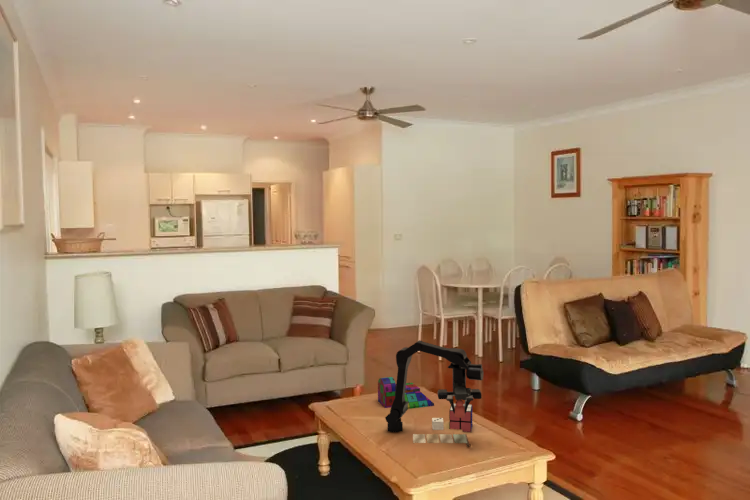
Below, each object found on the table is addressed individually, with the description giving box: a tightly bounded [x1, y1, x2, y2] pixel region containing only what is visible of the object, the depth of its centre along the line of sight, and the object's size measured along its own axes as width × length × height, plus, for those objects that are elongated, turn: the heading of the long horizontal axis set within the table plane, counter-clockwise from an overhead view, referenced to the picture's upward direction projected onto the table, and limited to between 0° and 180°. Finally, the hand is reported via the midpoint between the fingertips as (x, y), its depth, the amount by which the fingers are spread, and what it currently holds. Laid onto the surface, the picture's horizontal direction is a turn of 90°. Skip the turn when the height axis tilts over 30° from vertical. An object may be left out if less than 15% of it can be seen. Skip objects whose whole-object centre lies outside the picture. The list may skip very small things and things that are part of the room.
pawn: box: [455, 400, 465, 418], centre depth 276 cm, size 4×4×7 cm
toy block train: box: [377, 376, 435, 410], centre depth 329 cm, size 25×17×14 cm
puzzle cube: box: [448, 403, 473, 433], centre depth 293 cm, size 10×10×10 cm
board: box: [412, 433, 470, 448], centre depth 278 cm, size 25×12×1 cm, turn 88°
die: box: [431, 417, 445, 431], centre depth 291 cm, size 5×5×5 cm
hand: (459, 413), depth 277 cm, fingers closed on pawn, 4 cm apart
